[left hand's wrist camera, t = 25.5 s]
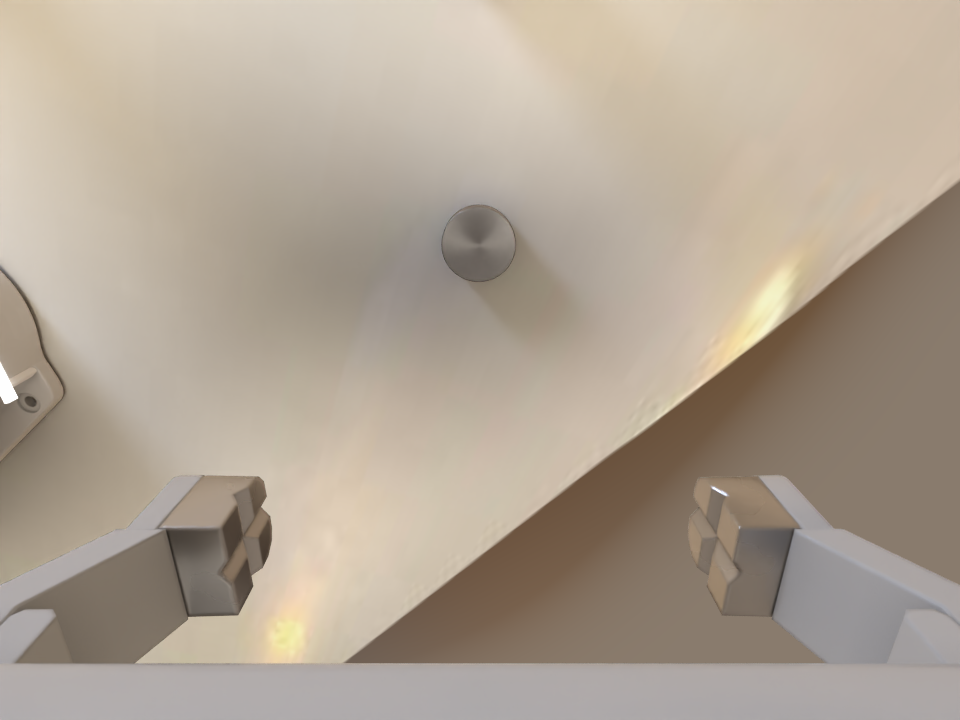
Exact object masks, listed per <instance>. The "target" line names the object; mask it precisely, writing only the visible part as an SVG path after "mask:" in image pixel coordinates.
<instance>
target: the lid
mask: <svg viewBox="0 0 960 720" xmlns="http://www.w3.org/2000/svg"><path fill="white" fill-rule="evenodd" d="M515 248H516V241H515V235H514V232H513V229H512V227H511V225H510V223H509V221H508V220H507V218H506V217H505V216H504V215H503V214H502V213H501V212H499V211H498V210H496V209H494V208H492V207H490V206H486V205H471V206H468V207H465V208H463V209H461V210H459V211H458V212H457V213H455V214H454V215H453V216H452V218H451V219H450V220H449V222H448V223H447V225H446V228H445V230H444V233H443V237H442V252H443V256H444V259H445V261H446V263H447V265H448V266H449V268H450V269H451V270H452V271H453V272H454V273H455V274H457V275H458V276H460V277H461V278H463V279H466V280H469V281H474V282H484V281H488V280H492V279H494V278H496V277H498V276H499V275H501V274H502V273H503V272H504V271H505V270H506V269H507V268H508V267H509V265H510V264H511V262H512V260H513V257H514V254H515Z"/></svg>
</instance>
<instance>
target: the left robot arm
mask: <svg viewBox="0 0 960 720" xmlns="http://www.w3.org/2000/svg"><path fill="white" fill-rule="evenodd" d="M63 393H64V392H63V387H62V384H61V382H60V380H59V379H58V377H57V375H56V374H55V372H54V371H53V369H52V368H51V366H50V365H49V363H48V362H47V361H46V359H45V357H44V355H43V352H42V349H41V345H40V340H39V336H38V332H37V328H36V325H35V322H34V319H33V317H32V315H31V312H30V310H29V308H28V306H27V304H26V303H25V301H24V299H23V298H22V296H21V295H20V293H19V292H18V290H17V289H16V287H15V286H14V285H13V284H12V282H11V281H10V280H9V279H8V278H7V277H6V276H5V274H4V273H3V272H2V271H1V270H0V462H1V461H2V460H3V459H4V458H5V457H6V456H7V454H8V453H9V452H10V451H11V450H12V449H13V448H14V447H15V446H16V445H17V444H18V443H19V442H20V441H21V440H22V439H23V438H24V437H25V436H26V435H27V434H28V433H29V432H30V431H31V430H32V429H33V428H34V427H35V426H36V425H37V424H38V423H39V422H40V421H41V420H42V419H43V418H44V417H45V416H46V415H47V414H48V413H49V411H50V410H51V409H52V408H53V407H54V406H55V405H56V404H57V403H58V402H59V401H60V400H61V399H62V397H63ZM32 397H33V398H34V399H35V400H36V401H34V400H33V398H32ZM266 497H267V495H266V490H265V485H264V481H263V480H262V479H261V478H260V477H256V476H204V475H181V476H177V477H174V478H173V479H172V480H171V481H170V482H169V483H168V484H167V485H166V486H165V487H164V488H163V489H162V490H161V492H160V493H159V494H158V495H157V496H156V497H155V498H154V499H153V500H152V501H151V502H150V503H149V505H148V506H147V507H146V508H145V509H144V510H143V511H142V512H141V513H140V514H139V515H138V516H137V518H136V519H135V520H134V521H133V522H132V523H131V524H130V525H129V526H128V527H127V528H126V529H116V530H114V531H112V532H110V533H108V534H106V535H104V536H102V537H99V538H97V539H95V540H93V541H91V542H89V543H87V544H85V545H83V546H81V547H79V548H77V549H74V550H72V551H70V552H68V553H66V554H64V555H62V556H60V557H58V558H56V559H54V560H51V561H49V562H47V563H45V564H43V565H41V566H39V567H37V568H35V569H33V570H31V571H28V572H26V573H24V574H22V575H20V576H18V577H16V578H14V579H12V580H10V581H8V582H5V583H3V584H1V585H0V720H960V585H958V584H956V583H954V582H952V581H950V580H948V579H946V578H944V577H942V576H940V575H938V574H935V573H933V572H931V571H929V570H927V569H925V568H923V567H921V566H919V565H917V564H915V563H912V562H910V561H908V560H906V559H904V558H902V557H900V556H898V555H896V554H894V553H892V552H890V551H888V550H885V549H883V548H881V547H879V546H877V545H875V544H873V543H871V542H869V541H867V540H865V539H862V538H860V537H858V536H856V535H854V534H852V533H850V532H848V531H846V530H844V529H834V528H833V527H832V526H831V525H830V524H829V523H828V522H827V521H826V520H825V519H824V518H823V516H822V515H821V514H820V513H819V512H818V511H817V510H816V509H815V508H814V507H813V506H812V505H811V503H810V502H809V501H808V500H807V499H806V498H805V497H804V496H803V495H802V494H801V493H800V492H799V490H798V489H797V488H796V487H795V486H794V485H793V484H792V483H791V482H790V481H789V480H788V479H787V478H786V477H784V476H781V475H765V476H743V477H699V478H698V480H697V482H696V484H695V489H694V495H693V497H694V499H695V500H696V502H697V504H698V505H699V508H698V509H697V510H696V511H695V512H694V513H693V514H692V515H691V516H690V519H689V527H688V539H689V547H690V551H691V554H692V558H693V560H694V562H695V564H696V566H697V568H699V569H700V570H701V571H703V572H704V573H706V574H707V575H709V577H708V582H707V588H708V589H709V591H710V593H711V595H712V597H713V599H714V601H715V603H716V605H717V607H718V609H719V611H720V612H721V614H722V615H729V616H766V617H772V620H774V621H775V622H776V623H777V624H779V625H780V626H781V627H782V628H783V629H785V630H786V631H787V632H788V633H789V634H791V635H792V636H793V637H794V638H796V639H797V640H798V641H799V642H800V643H802V644H803V645H804V646H805V647H807V648H808V649H809V650H810V651H811V652H813V653H814V654H815V655H816V656H818V657H819V658H820V659H821V660H822V661H824V662H825V663H826V664H134V663H135V662H137V661H138V660H139V659H140V658H141V657H143V656H144V655H145V654H146V653H148V652H149V651H150V650H151V649H152V648H154V647H155V646H156V645H157V644H159V643H160V642H161V641H162V640H163V639H165V638H166V637H167V636H168V635H170V634H171V633H172V632H173V631H174V630H176V629H177V628H178V627H179V626H181V625H182V624H183V623H184V622H185V621H187V620H188V617H195V616H230V615H238V614H239V613H240V611H241V609H242V607H243V605H244V603H245V601H246V599H247V597H248V595H249V593H250V591H251V589H252V587H253V582H252V577H251V575H253V574H254V573H256V572H257V571H259V570H260V569H261V568H263V566H264V564H265V562H266V560H267V558H268V555H269V550H270V546H271V541H272V525H271V519H270V516H269V515H268V514H267V513H266V512H265V511H264V510H263V509H262V508H261V505H262V504H263V502H264V500H265V499H266Z"/></svg>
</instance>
